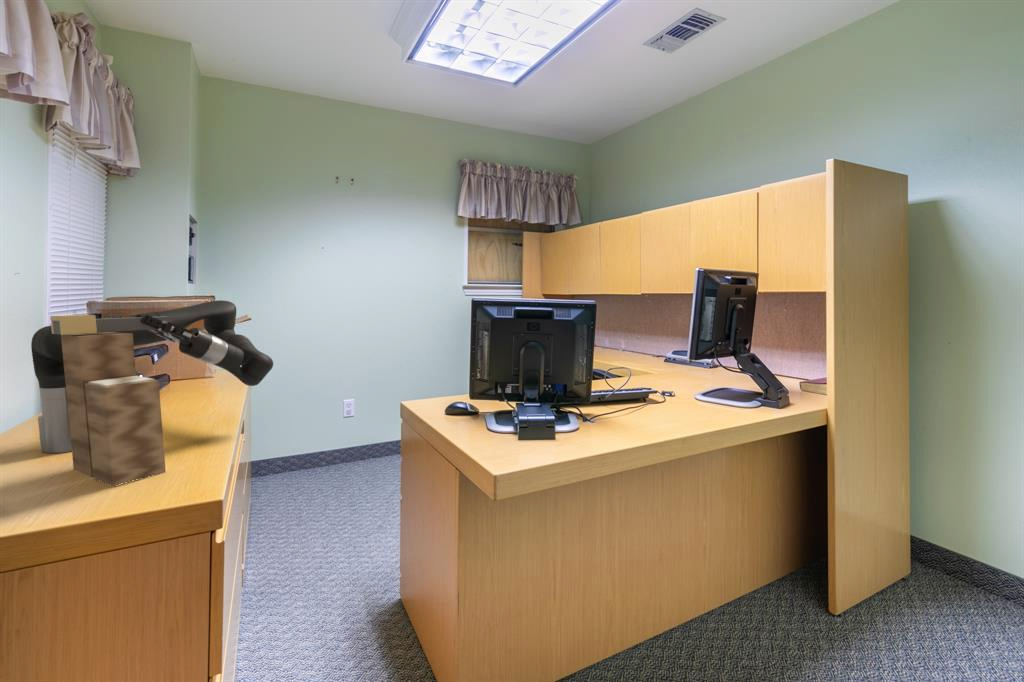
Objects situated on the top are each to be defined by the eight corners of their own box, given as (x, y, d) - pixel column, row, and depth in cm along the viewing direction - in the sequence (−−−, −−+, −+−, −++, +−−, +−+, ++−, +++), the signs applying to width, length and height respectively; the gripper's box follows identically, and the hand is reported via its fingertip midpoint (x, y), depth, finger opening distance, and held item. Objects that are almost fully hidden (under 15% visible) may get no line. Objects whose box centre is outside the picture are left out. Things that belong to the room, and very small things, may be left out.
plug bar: (62, 334, 104) (60, 316, 104) (52, 333, 107) (50, 315, 107) (174, 328, 123) (173, 312, 123) (163, 327, 126) (162, 312, 126)
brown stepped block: (113, 487, 102) (100, 338, 99) (73, 469, 113) (60, 335, 110) (165, 472, 111) (155, 335, 108) (124, 457, 122) (113, 332, 119)
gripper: (197, 333, 137) (133, 304, 124) (224, 335, 130) (160, 304, 116) (184, 357, 135) (117, 330, 121) (211, 360, 127) (144, 332, 114)
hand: (139, 318), depth 119 cm, fingers closed on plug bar, 4 cm apart
